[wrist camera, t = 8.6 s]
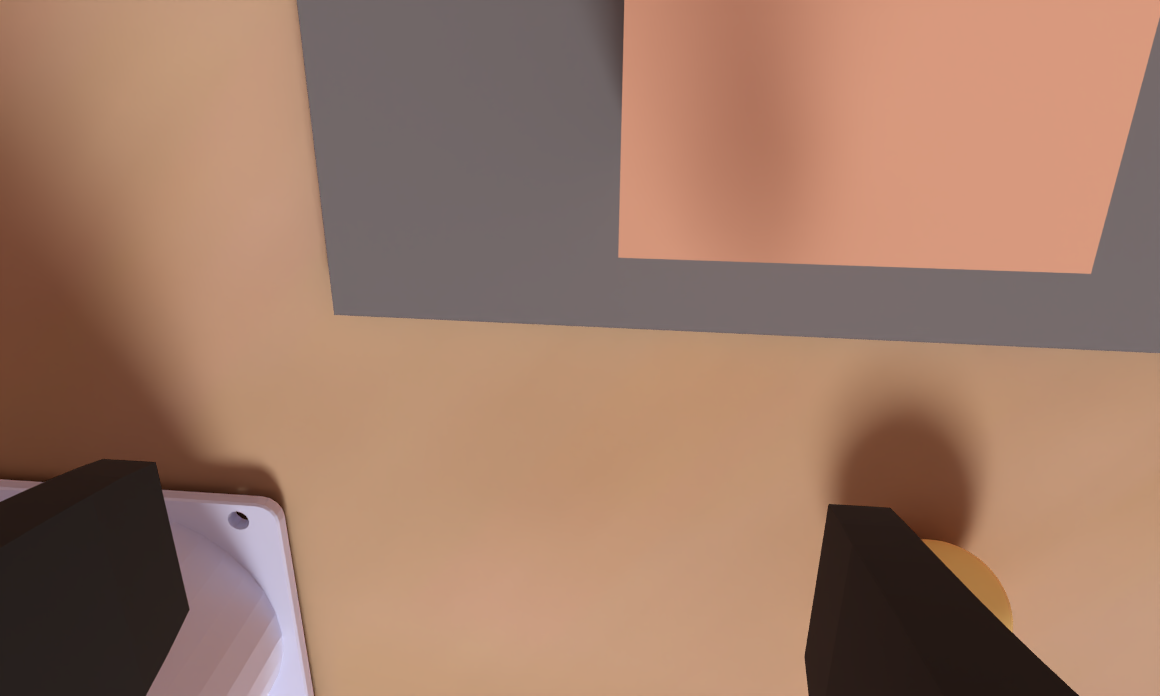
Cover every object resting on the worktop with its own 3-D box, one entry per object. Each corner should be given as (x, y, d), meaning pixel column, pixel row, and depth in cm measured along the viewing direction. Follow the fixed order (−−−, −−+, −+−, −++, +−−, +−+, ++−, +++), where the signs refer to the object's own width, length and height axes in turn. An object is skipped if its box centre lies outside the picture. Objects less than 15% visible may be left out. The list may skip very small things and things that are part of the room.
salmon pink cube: (635, 155, 16) (618, 257, 11) (646, -196, 14) (631, -295, 8) (943, 163, 16) (1091, 273, 10) (1009, -199, 13) (1246, -307, 8)
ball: (832, 615, 21) (859, 721, 18) (851, 505, 19) (883, 601, 17) (968, 624, 21) (1017, 734, 18) (996, 514, 19) (1055, 614, 16)
